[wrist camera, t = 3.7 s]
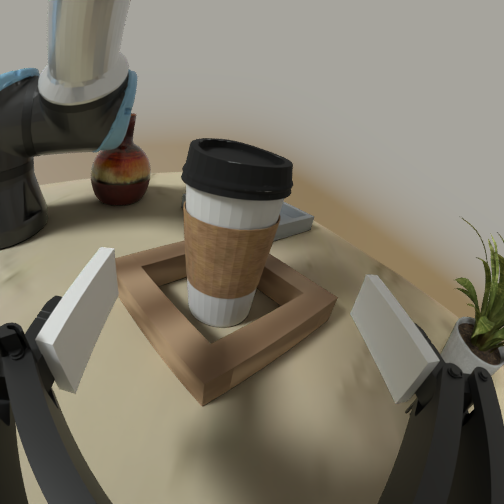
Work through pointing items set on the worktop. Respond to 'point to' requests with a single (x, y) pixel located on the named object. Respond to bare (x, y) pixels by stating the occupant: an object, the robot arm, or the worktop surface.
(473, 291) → the house plant
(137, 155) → the vase
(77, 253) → the worktop surface
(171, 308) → the square wooden frame
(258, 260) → the coffee cup
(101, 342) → the worktop surface
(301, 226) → the tray
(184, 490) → the worktop surface
